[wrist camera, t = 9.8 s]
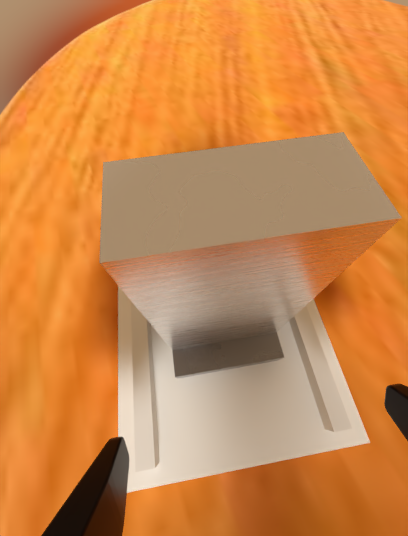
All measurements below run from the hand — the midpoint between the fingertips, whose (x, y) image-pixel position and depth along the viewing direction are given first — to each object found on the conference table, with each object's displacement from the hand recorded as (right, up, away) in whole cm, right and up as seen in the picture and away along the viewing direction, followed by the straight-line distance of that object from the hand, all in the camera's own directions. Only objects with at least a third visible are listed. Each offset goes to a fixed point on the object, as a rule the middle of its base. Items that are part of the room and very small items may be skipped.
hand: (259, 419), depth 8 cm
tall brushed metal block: (-1, +1, +9) cm, 9 cm away
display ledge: (-1, +1, +10) cm, 10 cm away
